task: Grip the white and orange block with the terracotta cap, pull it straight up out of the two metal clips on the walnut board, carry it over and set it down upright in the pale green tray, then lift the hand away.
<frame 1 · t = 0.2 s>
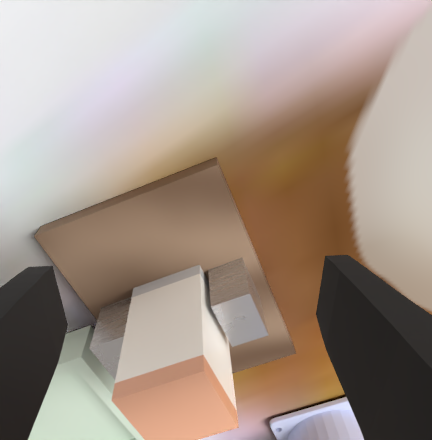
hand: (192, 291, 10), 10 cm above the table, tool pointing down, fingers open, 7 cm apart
tray: (60, 405, 27), on the table
white and orange block: (180, 301, 22), point 1 cm above the table, touching clip board
clip board: (181, 290, 23), on the table
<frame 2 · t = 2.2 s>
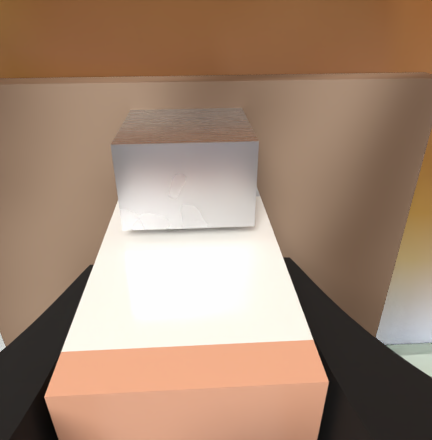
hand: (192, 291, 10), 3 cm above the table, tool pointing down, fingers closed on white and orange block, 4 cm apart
tray: (319, 429, 19), on the table
white and orange block: (192, 243, 13), point 1 cm above the table, touching clip board, gripper
clip board: (192, 228, 13), on the table
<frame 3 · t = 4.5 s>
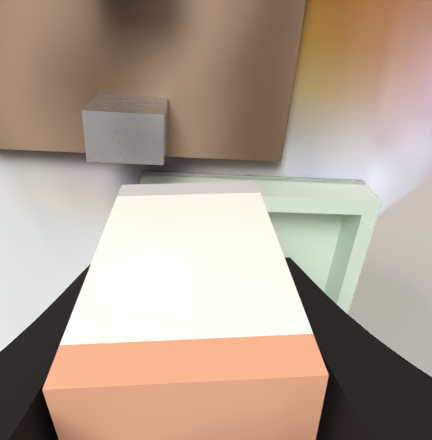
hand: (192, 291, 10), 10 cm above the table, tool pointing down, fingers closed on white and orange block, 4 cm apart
tray: (243, 266, 23), on the table
white and orange block: (191, 240, 12), point 8 cm above the table, touching gripper
clip board: (134, 36, 17), on the table
when the fingers open (5 cm above the table, at t = 6.9 s): white and orange block drops 1 cm, resting on tray.
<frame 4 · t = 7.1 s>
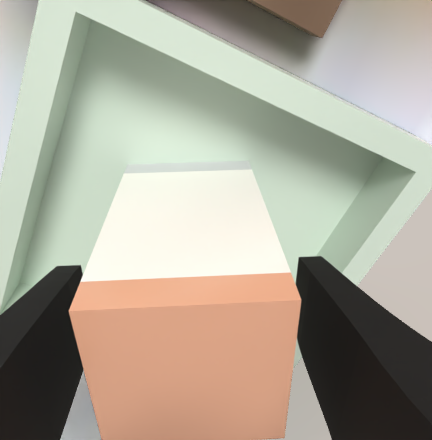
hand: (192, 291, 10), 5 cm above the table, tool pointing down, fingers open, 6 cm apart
tray: (192, 213, 14), on the table
white and orange block: (191, 215, 14), point 1 cm above the table, touching tray
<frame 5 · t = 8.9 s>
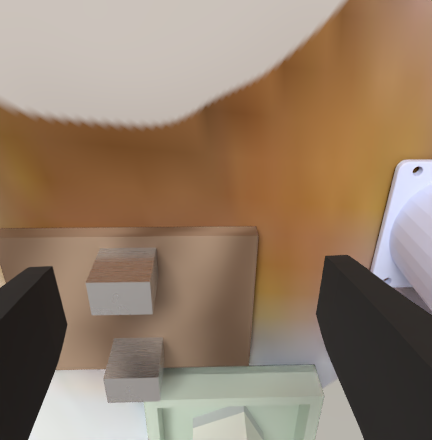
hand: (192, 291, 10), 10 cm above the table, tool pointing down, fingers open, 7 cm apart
tray: (229, 419, 30), on the table
white and orange block: (228, 425, 29), point 1 cm above the table, touching tray
clip board: (137, 298, 24), on the table
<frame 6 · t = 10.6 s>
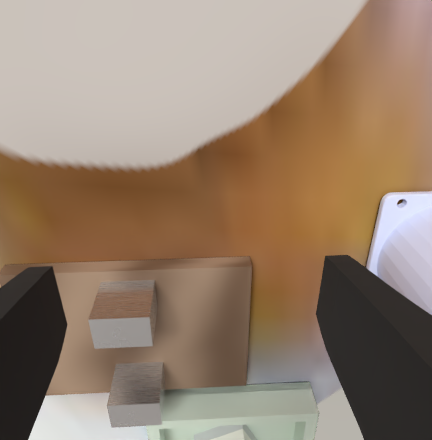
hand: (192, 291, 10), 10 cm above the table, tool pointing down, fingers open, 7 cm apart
tray: (229, 434, 31), on the table
clip board: (137, 325, 25), on the table
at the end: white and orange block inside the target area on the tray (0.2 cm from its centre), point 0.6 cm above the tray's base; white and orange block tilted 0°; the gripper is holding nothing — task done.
